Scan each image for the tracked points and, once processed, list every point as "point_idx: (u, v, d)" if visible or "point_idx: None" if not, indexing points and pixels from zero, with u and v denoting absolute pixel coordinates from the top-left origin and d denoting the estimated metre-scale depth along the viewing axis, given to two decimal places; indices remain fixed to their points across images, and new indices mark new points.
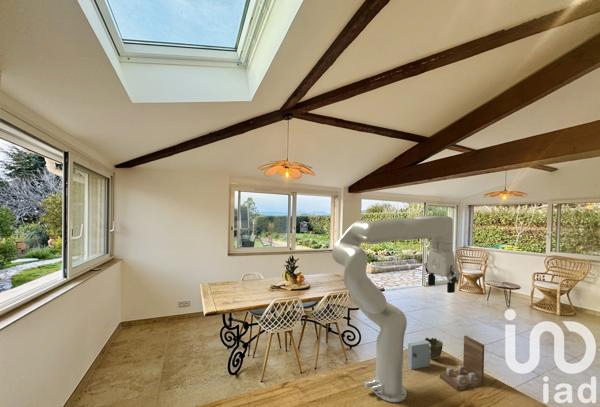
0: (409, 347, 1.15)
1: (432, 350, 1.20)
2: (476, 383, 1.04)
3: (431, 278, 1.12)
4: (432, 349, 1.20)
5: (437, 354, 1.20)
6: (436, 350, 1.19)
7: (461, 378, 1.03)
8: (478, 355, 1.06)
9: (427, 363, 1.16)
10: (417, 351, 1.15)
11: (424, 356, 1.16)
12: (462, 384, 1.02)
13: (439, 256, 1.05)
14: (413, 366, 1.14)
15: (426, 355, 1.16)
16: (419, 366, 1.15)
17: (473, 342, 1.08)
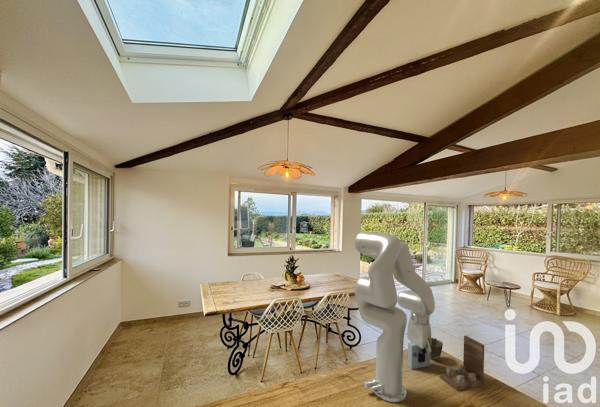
0: (409, 347, 1.15)
1: (432, 350, 1.20)
2: (476, 383, 1.04)
3: None
4: (432, 349, 1.20)
5: (437, 354, 1.20)
6: (436, 350, 1.19)
7: (461, 378, 1.03)
8: (478, 355, 1.06)
9: (427, 363, 1.16)
10: (417, 351, 1.15)
11: None
12: (462, 384, 1.02)
13: (417, 328, 1.14)
14: (413, 366, 1.14)
15: (426, 355, 1.16)
16: (419, 366, 1.15)
17: (473, 342, 1.08)
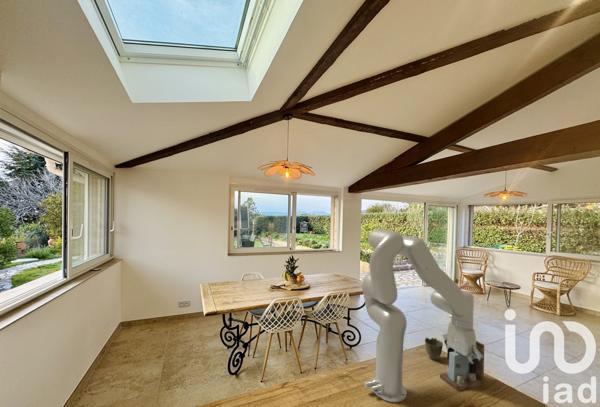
0: (451, 357, 1.06)
1: (432, 350, 1.20)
2: (476, 383, 1.04)
3: None
4: (432, 349, 1.20)
5: (437, 354, 1.20)
6: (436, 350, 1.19)
7: (461, 378, 1.03)
8: None
9: None
10: (460, 361, 1.05)
11: (467, 366, 1.06)
12: (462, 384, 1.02)
13: (460, 334, 1.05)
14: (455, 378, 1.04)
15: None
16: None
17: None
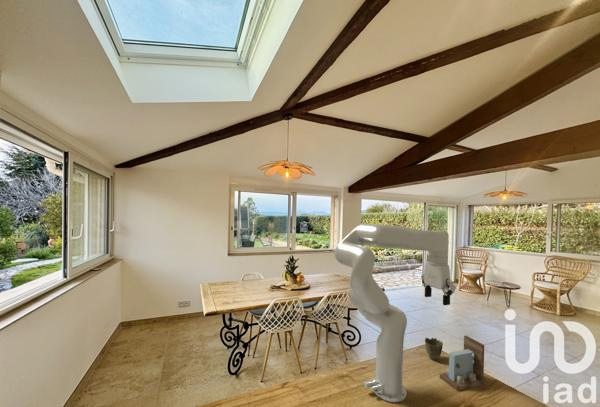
0: (451, 357, 1.06)
1: (432, 350, 1.20)
2: (476, 383, 1.04)
3: (427, 290, 1.16)
4: (432, 349, 1.20)
5: (437, 354, 1.20)
6: (436, 350, 1.19)
7: (461, 378, 1.03)
8: (478, 355, 1.06)
9: None
10: (460, 361, 1.05)
11: (467, 366, 1.06)
12: (462, 384, 1.02)
13: (435, 270, 1.10)
14: (455, 378, 1.04)
15: (469, 365, 1.07)
16: None
17: (473, 342, 1.08)
